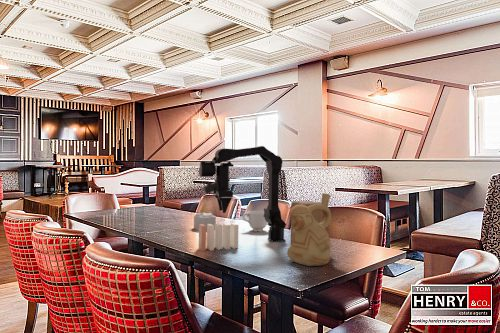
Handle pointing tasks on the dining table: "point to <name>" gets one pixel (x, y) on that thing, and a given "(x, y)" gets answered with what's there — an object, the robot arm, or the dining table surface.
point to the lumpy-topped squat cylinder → (204, 220)
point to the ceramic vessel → (310, 234)
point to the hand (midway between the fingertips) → (222, 211)
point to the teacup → (256, 220)
